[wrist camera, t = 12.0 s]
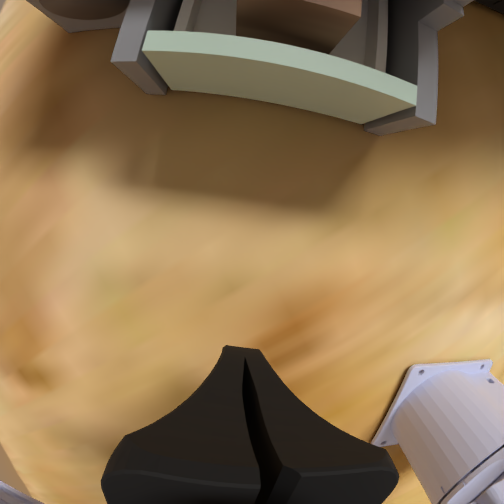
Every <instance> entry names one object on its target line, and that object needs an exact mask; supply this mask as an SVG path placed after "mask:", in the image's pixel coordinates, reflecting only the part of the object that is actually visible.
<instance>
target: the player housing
mask: <svg viewBox="0 0 504 504" xmlns="http://www.w3.org/2000/svg"><path fill="white" fill-rule="evenodd" d="M26 1H28V2H29V3H30V4H32V5H33V6H34V7H36V8H37V9H38V10H40V11H41V12H42V13H44V14H45V15H46V16H48V17H49V18H50V19H52V20H53V21H54V22H56V23H57V24H58V25H59V26H61V27H62V28H63V29H65V30H66V31H67V32H68V33H71V32H79V31H87V30H96V29H107V28H120V31H119V34H118V38H117V41H116V44H115V47H114V51H113V54H112V58H111V61H110V62H111V63H112V64H114V65H115V66H116V67H117V68H118V69H119V70H120V71H122V72H123V73H124V74H125V75H126V76H127V77H128V78H130V79H131V80H132V81H133V82H134V83H135V84H136V85H137V86H138V87H140V88H141V89H142V90H143V91H144V92H145V93H146V94H157V95H166V92H167V87H168V85H167V83H166V82H165V81H164V79H163V78H162V77H161V75H160V74H159V73H158V71H157V70H156V69H155V67H154V66H153V65H152V63H151V62H150V61H149V59H148V58H147V57H146V55H145V54H144V53H143V52H142V48H143V45H144V41H145V38H146V35H147V31H174V28H175V24H176V21H177V18H178V14H179V11H180V8H181V5H182V2H183V0H26ZM472 1H474V0H388V35H387V57H386V72H385V73H387V74H389V75H392V76H394V77H397V78H399V79H402V80H404V81H407V82H409V83H411V84H414V85H416V86H417V102H416V106H414V107H411V108H407V109H404V110H401V111H398V112H395V113H392V114H389V115H386V116H384V117H381V118H378V119H375V120H372V121H369V122H366V123H365V125H364V131H366V132H370V133H373V134H376V135H379V136H382V135H387V134H391V133H396V132H401V131H405V130H410V129H415V128H420V127H425V126H430V125H436V114H437V96H438V34H437V31H439V30H440V29H442V28H444V27H445V26H447V25H449V24H451V23H452V22H454V21H456V20H458V19H460V18H461V17H463V16H464V10H463V7H464V6H465V5H467V4H469V3H471V2H472Z"/></svg>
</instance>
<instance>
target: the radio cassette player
mask: <svg viewBox="0 0 504 504" xmlns="http://www.w3.org/2000/svg"><path fill="white" fill-rule="evenodd" d="M474 1H476V2H478V3H480V4H482V5H485V6H487V7H489V8H491V9H493V10H496V11H498V12H500V13H502V14H504V0H474Z"/></svg>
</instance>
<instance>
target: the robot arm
mask: <svg viewBox="0 0 504 504" xmlns="http://www.w3.org/2000/svg"><path fill="white" fill-rule="evenodd" d="M492 364H493V362H492V360H490V359H484V360H474V361H462V362H449V363H431V364H415V365H412V366H411V367H410V368H409V369H408V371H407V373H406V376H405V378H404V380H403V382H402V384H401V387H400V389H399V391H398V393H397V395H396V397H395V399H394V401H393V403H392V405H391V407H390V409H389V411H388V413H387V415H386V417H385V418H384V420H383V422H382V424H381V426H380V428H379V429H378V431H377V433H376V435H375V436H374V438H373V440H372V442H371V444H370V443H367V442H365V441H362V440H360V439H358V438H356V437H354V436H352V435H350V434H348V433H346V432H344V431H342V430H340V429H338V428H337V427H335V426H333V425H332V424H330V423H329V422H327V421H326V420H324V419H323V418H321V417H320V416H319V415H317V414H316V413H315V412H313V411H312V410H311V409H310V408H308V407H307V406H306V405H305V404H304V403H303V402H301V401H300V400H299V399H298V398H297V397H296V396H295V395H294V394H293V393H292V392H291V391H290V390H289V388H288V387H287V386H286V385H285V384H284V383H283V381H282V380H281V379H280V378H279V376H278V375H277V374H276V373H275V371H274V370H273V369H272V367H271V366H270V364H269V363H268V361H267V360H266V358H265V357H264V355H263V354H262V353H261V351H260V350H259V349H251V348H243V347H235V346H228V345H226V346H224V347H223V349H222V353H221V356H220V358H219V360H218V362H217V364H216V365H215V367H214V368H213V370H212V371H211V373H210V374H209V376H208V377H207V378H206V379H205V381H204V382H203V383H202V384H201V386H200V387H199V388H198V389H197V390H196V391H195V392H194V393H193V394H192V395H191V396H190V397H189V398H188V399H187V400H186V401H184V402H183V403H182V404H181V405H179V406H178V407H177V408H176V409H174V410H173V411H172V412H170V413H169V414H167V415H166V416H164V417H162V418H161V419H159V420H157V421H156V422H154V423H152V424H150V425H148V426H146V427H144V428H142V429H140V430H137V431H135V432H133V433H131V434H128V435H125V436H124V438H123V439H122V440H121V442H120V443H119V444H118V446H117V447H116V449H115V450H114V452H113V454H112V455H111V457H110V459H109V461H108V463H107V465H106V468H105V471H104V474H103V476H102V479H101V488H102V490H103V493H104V496H105V499H106V501H107V504H382V503H383V501H384V500H385V499H386V498H387V497H388V496H389V495H390V493H391V492H392V491H393V490H394V488H395V487H396V485H397V483H398V480H399V474H398V472H397V469H396V467H395V465H394V463H393V461H392V459H391V457H390V456H389V454H388V452H387V451H386V449H383V448H380V447H383V446H390V445H396V444H399V445H400V447H401V449H402V451H403V452H404V454H405V456H406V458H407V460H408V461H409V463H410V465H411V467H412V469H413V470H414V472H415V474H416V476H417V478H418V479H419V481H420V483H421V485H422V487H423V489H424V490H425V492H426V494H427V496H428V498H429V500H430V502H431V503H432V504H504V385H503V384H502V383H501V382H500V381H499V380H498V379H496V378H495V377H494V376H493V375H492V374H491V373H490V372H489V371H490V369H491V366H492ZM420 370H421V371H420ZM419 371H420V372H419ZM0 504H44V503H42V502H40V501H38V500H36V499H34V498H32V497H30V496H28V495H26V494H24V493H22V492H20V491H18V490H16V489H15V488H13V487H11V486H9V485H7V484H6V483H4V482H2V481H1V480H0Z"/></svg>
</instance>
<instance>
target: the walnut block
mask: <svg viewBox="0 0 504 504" xmlns="http://www.w3.org/2000/svg"><path fill="white" fill-rule="evenodd" d="M361 9H362V0H237V10H236V36H240V37H247V38H254V39H260V40H266V41H272V42H277V43H282V44H287V45H292V46H296V47H300V48H305V49H309V50H313V51H317V52H321V53H325V54H328V55H329V54H330V52H331V51H332V50H333V49H334V48H335V46H336V45H337V44H338V43H339V42H340V41H341V39H342V38H343V37H344V36H345V35H346V34H347V33H348V31H349V30H350V29H351V28H352V27H353V26H354V25H355V23H356V22H357V21H358V20H359V19H360V18H361Z"/></svg>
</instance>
